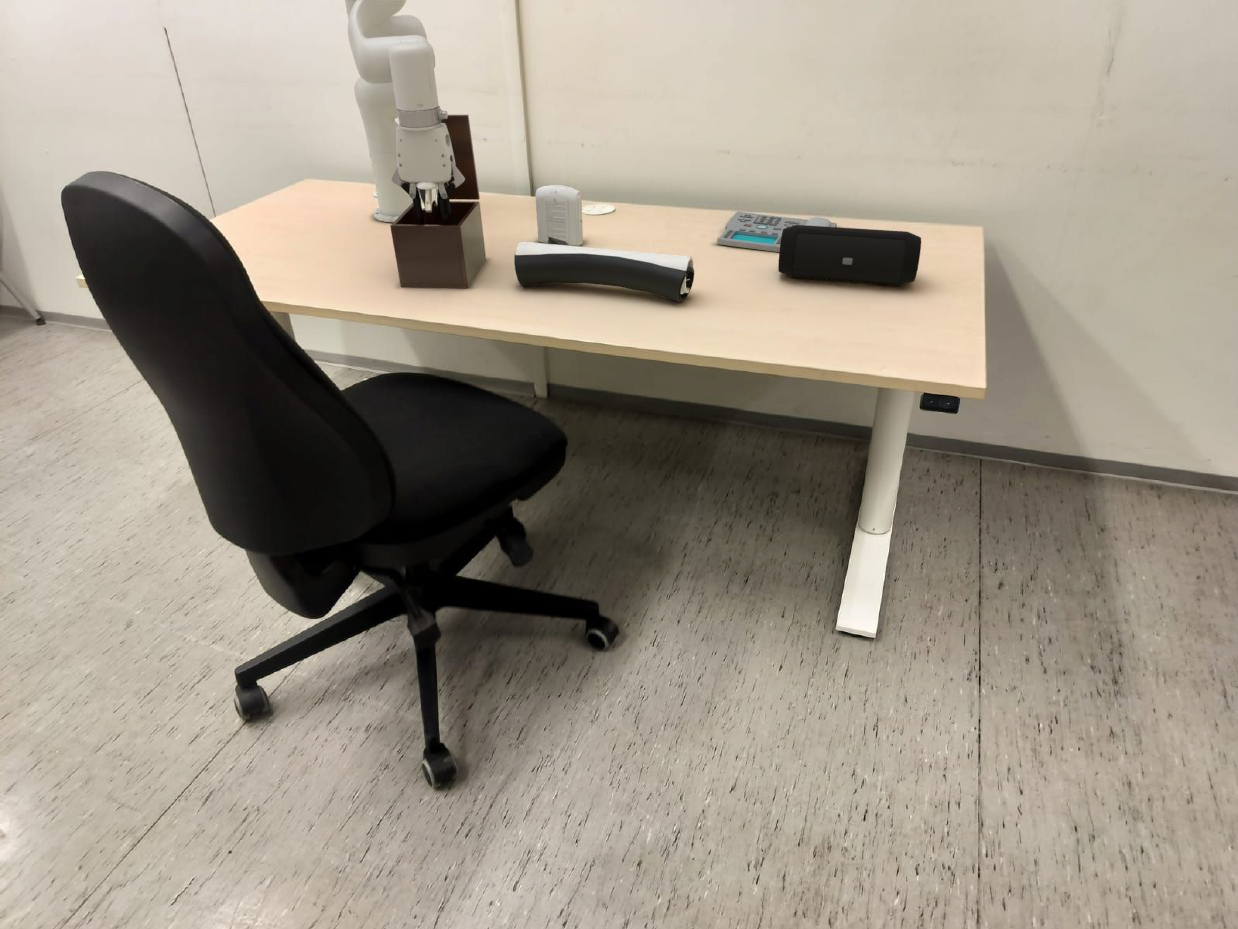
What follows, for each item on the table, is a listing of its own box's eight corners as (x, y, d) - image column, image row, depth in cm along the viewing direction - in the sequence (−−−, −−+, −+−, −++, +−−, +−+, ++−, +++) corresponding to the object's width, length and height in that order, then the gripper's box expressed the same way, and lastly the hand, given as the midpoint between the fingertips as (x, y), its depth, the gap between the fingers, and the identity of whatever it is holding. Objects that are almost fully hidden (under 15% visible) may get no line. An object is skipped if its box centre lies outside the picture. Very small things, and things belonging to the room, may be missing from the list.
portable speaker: (776, 284, 165) (780, 233, 159) (781, 265, 173) (785, 217, 167) (913, 294, 159) (923, 242, 154) (912, 275, 167) (921, 225, 162)
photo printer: (586, 241, 187) (583, 184, 181) (579, 247, 184) (576, 190, 177) (542, 237, 190) (538, 181, 183) (535, 243, 187) (531, 186, 180)
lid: (467, 115, 161) (468, 114, 162) (398, 115, 163) (399, 114, 163) (478, 199, 172) (479, 198, 172) (413, 199, 173) (414, 197, 174)
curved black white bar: (691, 316, 161) (705, 254, 165) (685, 291, 152) (699, 226, 156) (520, 298, 170) (537, 240, 174) (505, 273, 161) (523, 212, 165)
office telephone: (838, 216, 190) (820, 245, 175) (836, 228, 192) (819, 258, 176) (737, 205, 198) (712, 232, 182) (736, 216, 199) (711, 244, 184)
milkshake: (452, 223, 167) (446, 171, 162) (436, 231, 163) (430, 178, 157) (433, 219, 169) (427, 168, 163) (416, 227, 165) (410, 175, 159)
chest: (468, 288, 166) (460, 226, 159) (400, 287, 168) (390, 225, 161) (486, 259, 179) (479, 201, 172) (423, 258, 180) (414, 200, 174)
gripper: (469, 113, 157) (480, 211, 167) (381, 113, 159) (397, 210, 169) (459, 122, 151) (471, 224, 161) (367, 122, 153) (385, 223, 163)
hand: (433, 216), depth 165 cm, fingers closed on milkshake, 4 cm apart
